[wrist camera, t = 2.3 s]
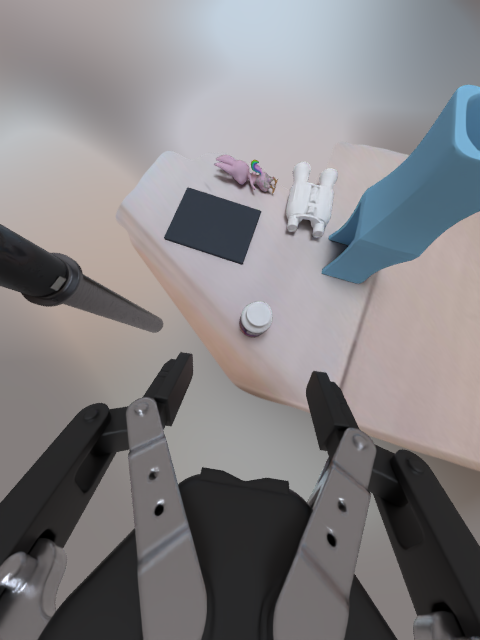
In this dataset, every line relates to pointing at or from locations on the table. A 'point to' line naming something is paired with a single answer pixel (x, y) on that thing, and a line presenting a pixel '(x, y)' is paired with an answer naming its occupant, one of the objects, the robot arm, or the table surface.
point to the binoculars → (310, 199)
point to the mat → (213, 225)
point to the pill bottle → (255, 319)
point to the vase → (416, 195)
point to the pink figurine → (245, 172)
